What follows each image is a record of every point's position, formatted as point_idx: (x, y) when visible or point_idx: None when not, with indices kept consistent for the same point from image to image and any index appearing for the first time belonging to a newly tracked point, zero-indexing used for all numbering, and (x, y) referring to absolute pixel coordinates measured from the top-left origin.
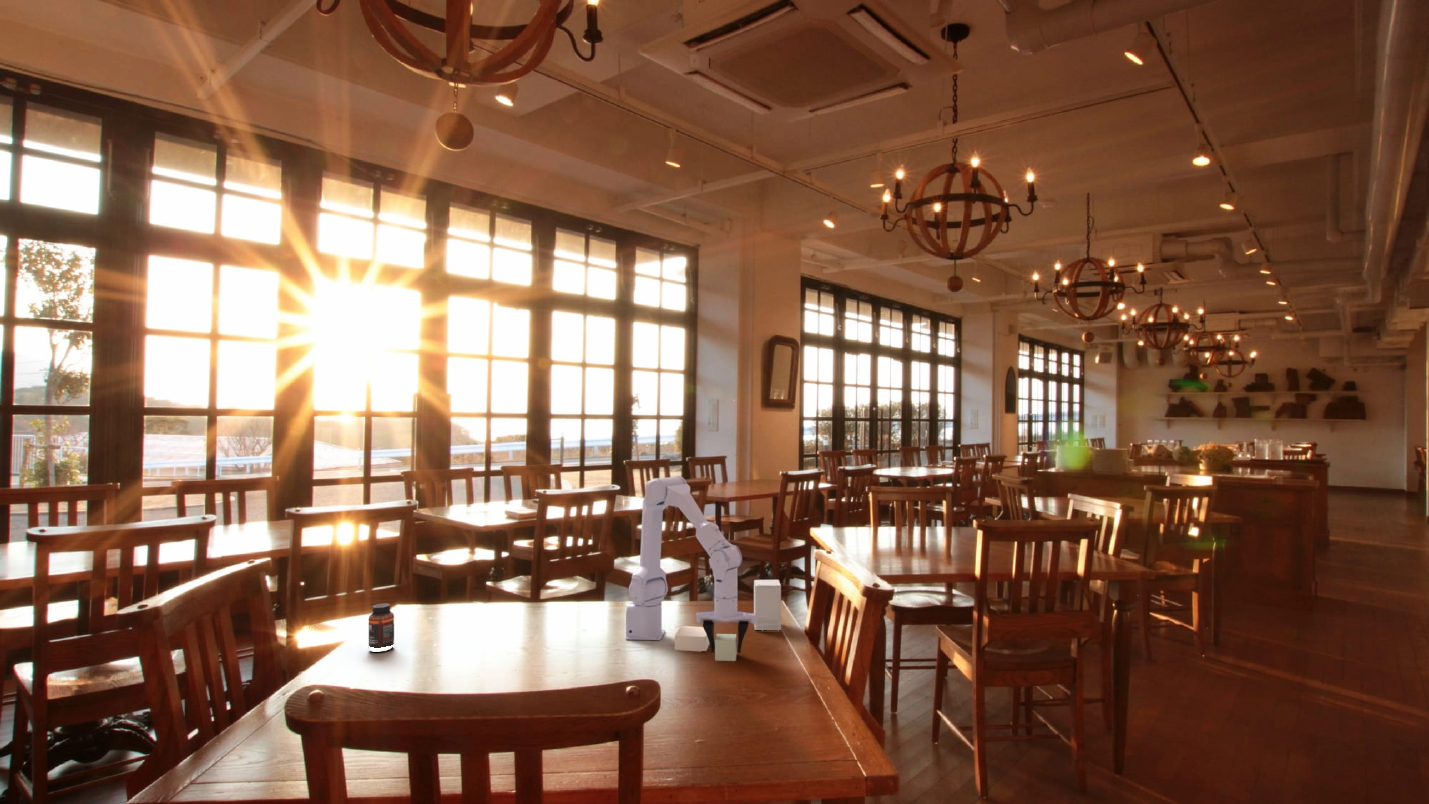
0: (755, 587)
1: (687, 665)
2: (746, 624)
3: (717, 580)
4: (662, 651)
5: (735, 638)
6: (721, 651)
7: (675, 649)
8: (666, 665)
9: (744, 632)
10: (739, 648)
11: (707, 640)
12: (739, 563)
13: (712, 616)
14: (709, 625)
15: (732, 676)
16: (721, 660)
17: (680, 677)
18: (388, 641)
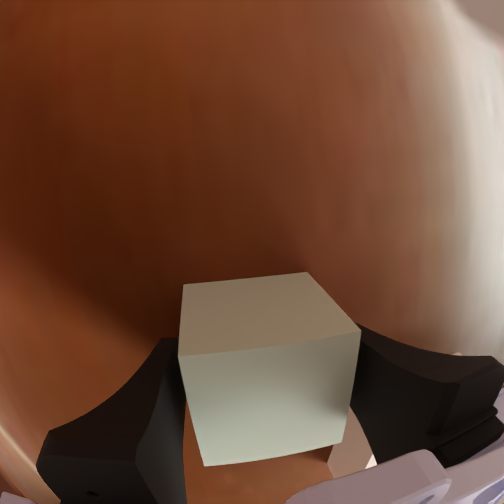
0: None
1: (431, 177)
2: (66, 493)
3: None
4: (490, 324)
5: (192, 403)
6: (284, 298)
7: (458, 353)
8: (492, 175)
9: (85, 417)
10: (160, 350)
11: (358, 433)
12: None
13: (500, 473)
14: (466, 401)
15: (173, 26)
16: (270, 276)
17: (429, 27)
18: None
